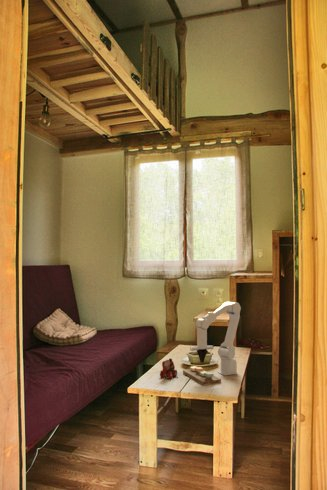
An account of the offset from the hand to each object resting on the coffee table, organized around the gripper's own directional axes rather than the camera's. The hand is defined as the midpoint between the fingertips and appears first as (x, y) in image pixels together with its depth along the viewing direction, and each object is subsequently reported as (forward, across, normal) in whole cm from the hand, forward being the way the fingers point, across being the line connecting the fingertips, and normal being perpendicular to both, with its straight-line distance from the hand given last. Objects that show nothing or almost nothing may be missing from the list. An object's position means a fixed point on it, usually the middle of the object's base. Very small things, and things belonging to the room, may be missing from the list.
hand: (201, 362), depth 236 cm
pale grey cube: (+8, 0, +8) cm, 11 cm away
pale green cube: (+9, 0, +2) cm, 9 cm away
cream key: (+9, 0, -10) cm, 13 cm away
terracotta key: (+8, 0, -4) cm, 9 cm away
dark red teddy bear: (+10, +17, -10) cm, 22 cm away
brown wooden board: (+9, 0, -1) cm, 9 cm away
